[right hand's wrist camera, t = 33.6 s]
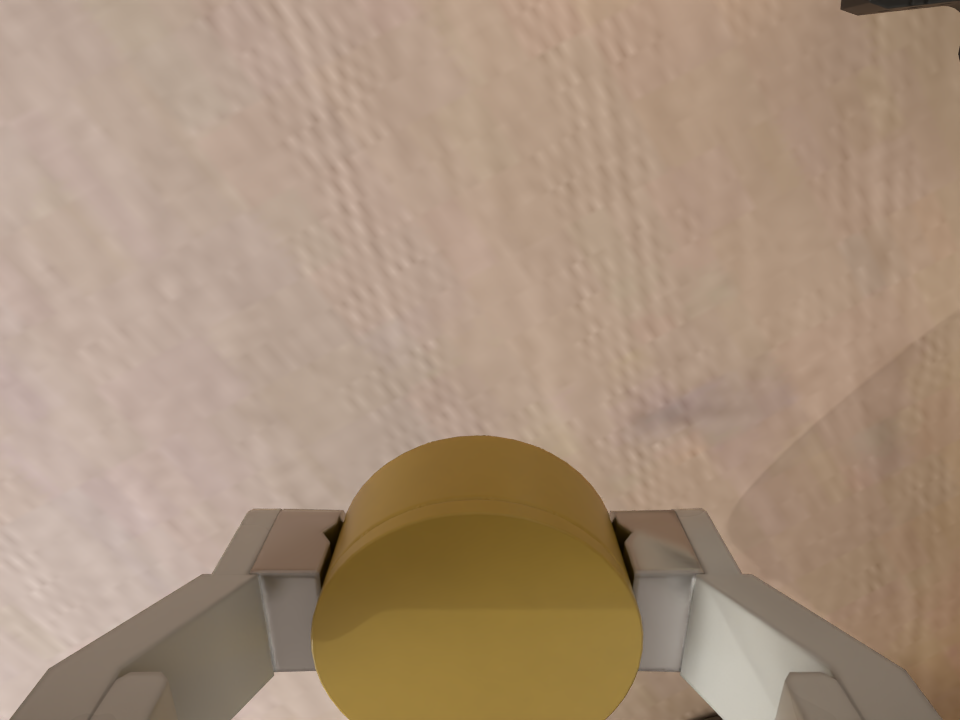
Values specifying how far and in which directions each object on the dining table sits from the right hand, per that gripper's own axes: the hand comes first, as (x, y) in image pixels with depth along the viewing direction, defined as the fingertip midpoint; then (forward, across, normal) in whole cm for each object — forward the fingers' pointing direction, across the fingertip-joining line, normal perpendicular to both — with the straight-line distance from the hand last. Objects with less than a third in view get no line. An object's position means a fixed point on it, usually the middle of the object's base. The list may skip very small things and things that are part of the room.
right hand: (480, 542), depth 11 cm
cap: (-2, 0, 0) cm, 2 cm away
